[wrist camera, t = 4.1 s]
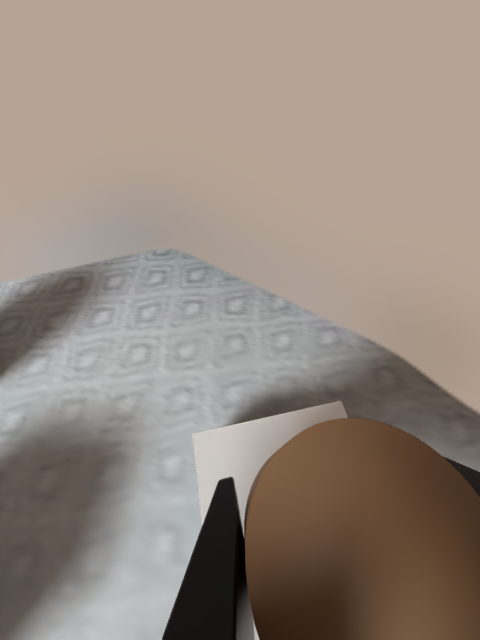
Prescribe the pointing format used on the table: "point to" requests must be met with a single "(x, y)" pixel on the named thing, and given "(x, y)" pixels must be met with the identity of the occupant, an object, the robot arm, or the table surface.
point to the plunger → (362, 539)
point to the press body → (249, 450)
